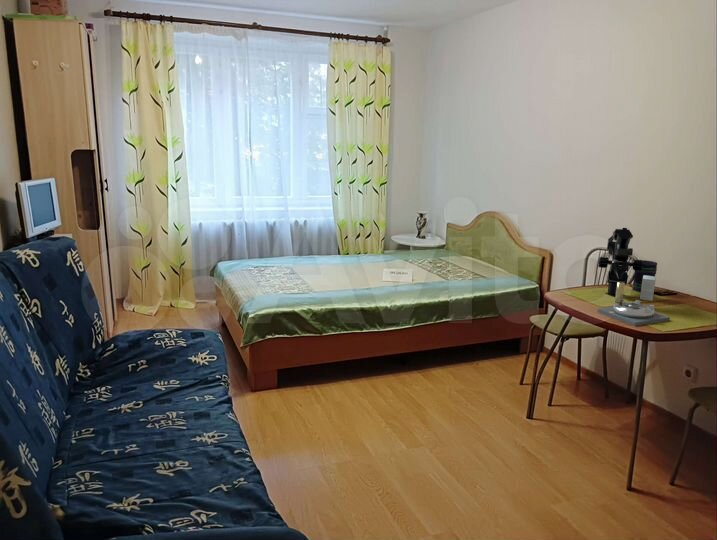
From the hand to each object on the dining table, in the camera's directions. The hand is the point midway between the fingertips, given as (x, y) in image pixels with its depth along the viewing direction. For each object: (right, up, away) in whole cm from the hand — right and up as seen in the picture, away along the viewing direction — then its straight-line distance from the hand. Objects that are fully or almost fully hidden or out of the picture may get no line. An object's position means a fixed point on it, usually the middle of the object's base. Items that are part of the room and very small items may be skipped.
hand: (619, 278), depth 244 cm
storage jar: (+26, -7, +27) cm, 38 cm away
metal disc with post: (-1, -15, -14) cm, 20 cm away
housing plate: (-1, -16, -13) cm, 21 cm away
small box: (+20, -10, +14) cm, 26 cm away
